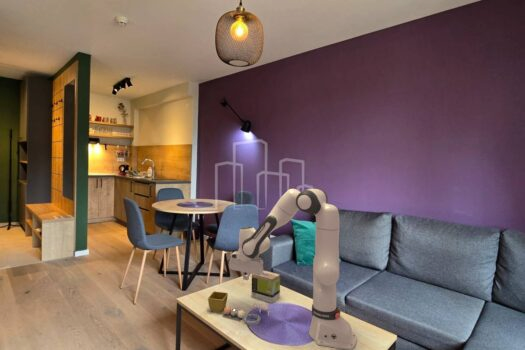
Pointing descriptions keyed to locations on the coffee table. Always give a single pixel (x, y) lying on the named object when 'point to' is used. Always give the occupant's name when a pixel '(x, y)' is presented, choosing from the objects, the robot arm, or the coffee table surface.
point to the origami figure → (262, 307)
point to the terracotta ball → (227, 310)
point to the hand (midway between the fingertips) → (245, 279)
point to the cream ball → (241, 314)
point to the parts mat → (232, 317)
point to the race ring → (252, 321)
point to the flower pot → (217, 301)
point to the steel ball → (234, 312)
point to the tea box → (266, 286)
